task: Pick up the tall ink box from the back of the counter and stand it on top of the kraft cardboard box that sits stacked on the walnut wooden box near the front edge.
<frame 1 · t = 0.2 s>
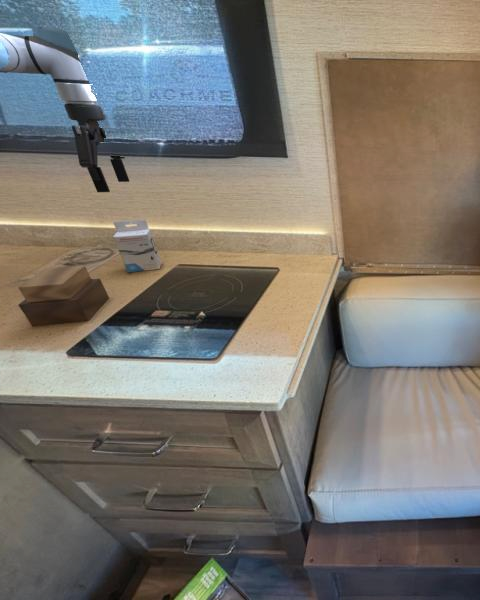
hand: (114, 186, 98), 23 cm above the worktop, tool pointing down, fingers open, 13 cm apart
ink box: (145, 268, 105), on the worktop
box stack: (73, 311, 83), on the worktop
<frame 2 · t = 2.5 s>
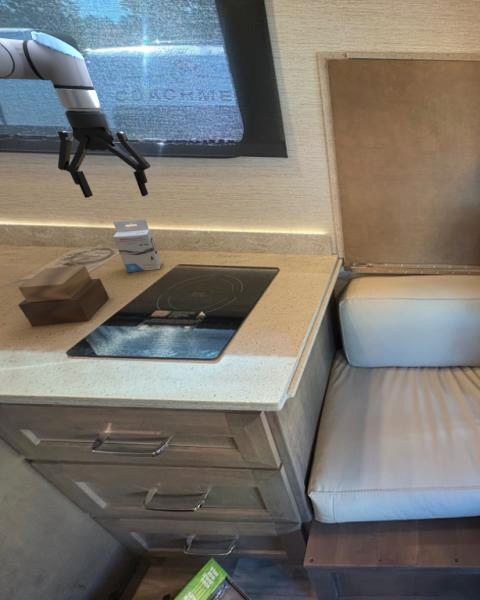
hand: (117, 195, 94), 22 cm above the worktop, tool pointing down, fingers open, 13 cm apart
nothing on the worktop moved.
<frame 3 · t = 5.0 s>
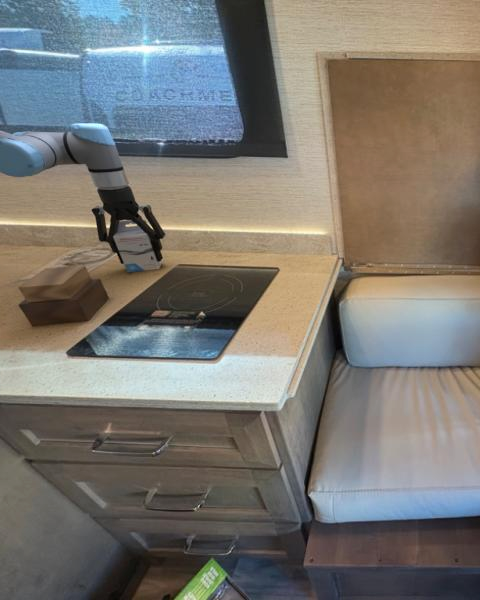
hand: (142, 260, 103), 2 cm above the worktop, tool pointing down, fingers closed on ink box, 9 cm apart
ink box: (145, 268, 105), on the worktop, touching gripper
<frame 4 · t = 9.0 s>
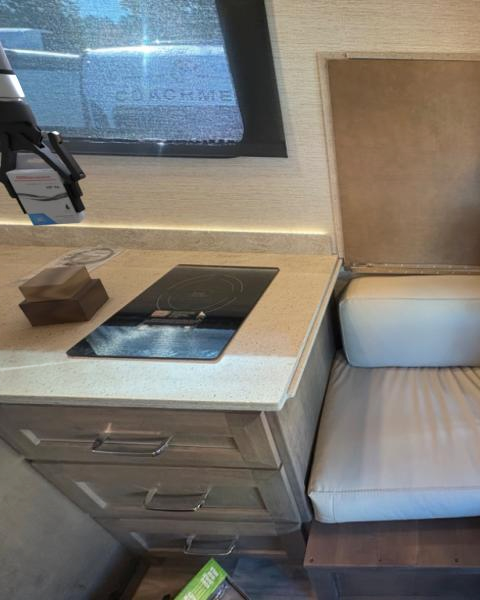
hand: (55, 211, 77), 23 cm above the worktop, tool pointing down, fingers closed on ink box, 9 cm apart
ink box: (61, 222, 79), point 20 cm above the worktop, touching gripper
when the fingers open (12 cm above the worktop, at t = 13.3 s): ink box stays where it is, resting on box stack.
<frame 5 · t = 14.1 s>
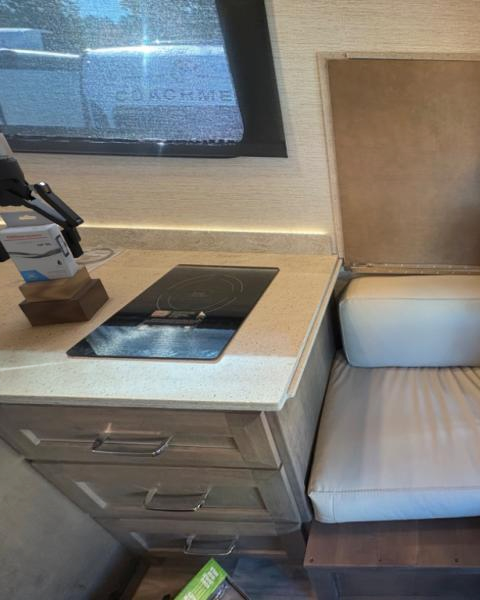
hand: (43, 257, 75), 15 cm above the worktop, tool pointing down, fingers open, 13 cm apart
ink box: (54, 276, 78), point 10 cm above the worktop, touching box stack
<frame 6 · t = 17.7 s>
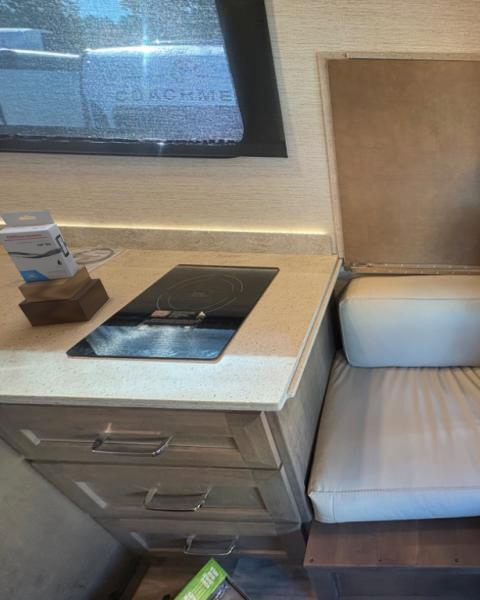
nothing on the worktop moved.
at the end: ink box inside the target area on the box stack (0.0 cm from its centre), point 9.8 cm above the box stack's base; ink box tilted 0°; the gripper is holding nothing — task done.
